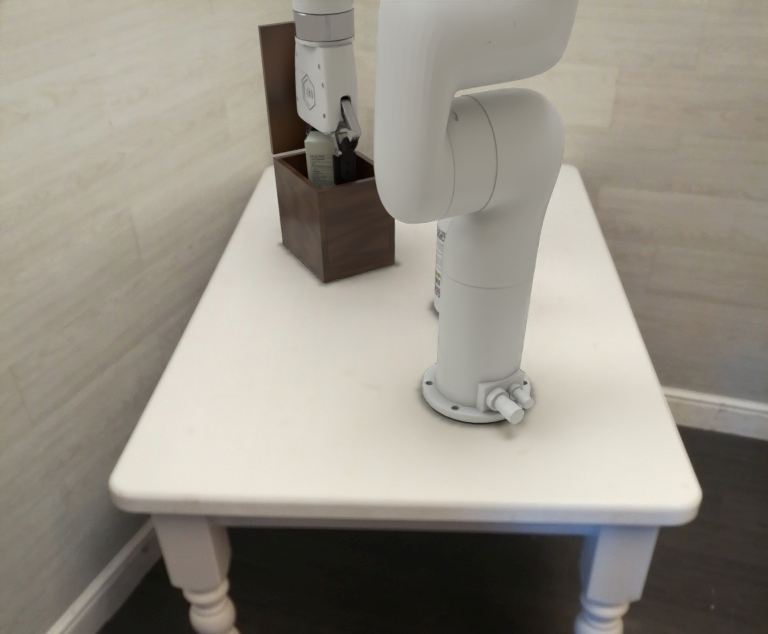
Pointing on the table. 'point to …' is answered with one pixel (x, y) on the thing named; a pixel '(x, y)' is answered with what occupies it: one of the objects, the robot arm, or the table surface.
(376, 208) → the chest
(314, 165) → the cosmetic box
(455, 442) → the table surface
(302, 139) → the lid
